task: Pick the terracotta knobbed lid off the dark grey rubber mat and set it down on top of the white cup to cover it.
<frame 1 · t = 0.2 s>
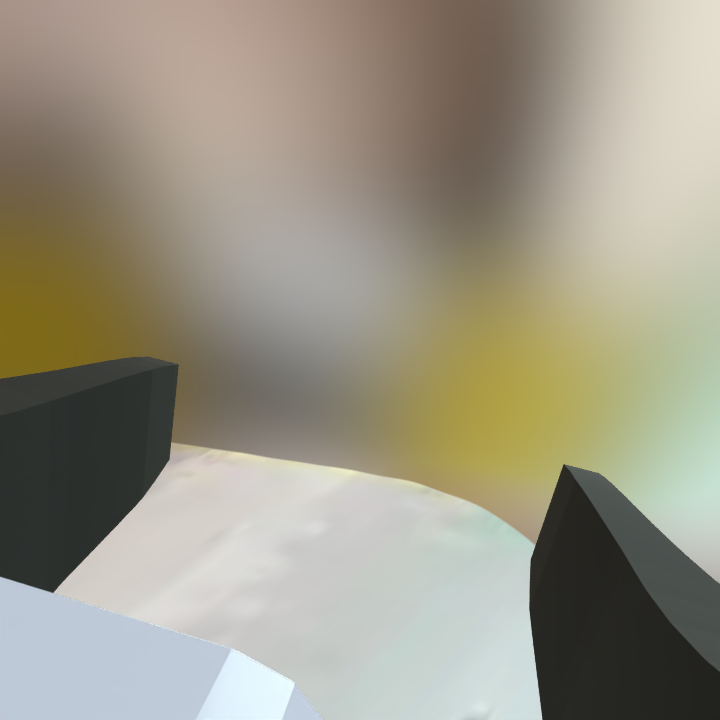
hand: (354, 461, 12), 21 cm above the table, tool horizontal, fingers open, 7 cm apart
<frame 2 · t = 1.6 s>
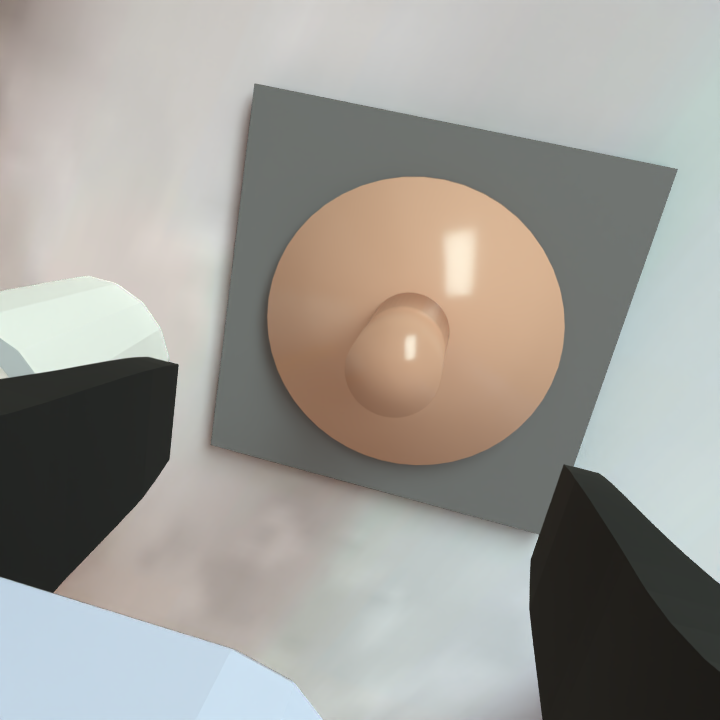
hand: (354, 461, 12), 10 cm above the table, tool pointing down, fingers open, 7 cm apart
mat: (414, 319, 21), on the table
white cup: (100, 350, 24), on the table
lid: (411, 326, 20), point 1 cm above the table, touching mat
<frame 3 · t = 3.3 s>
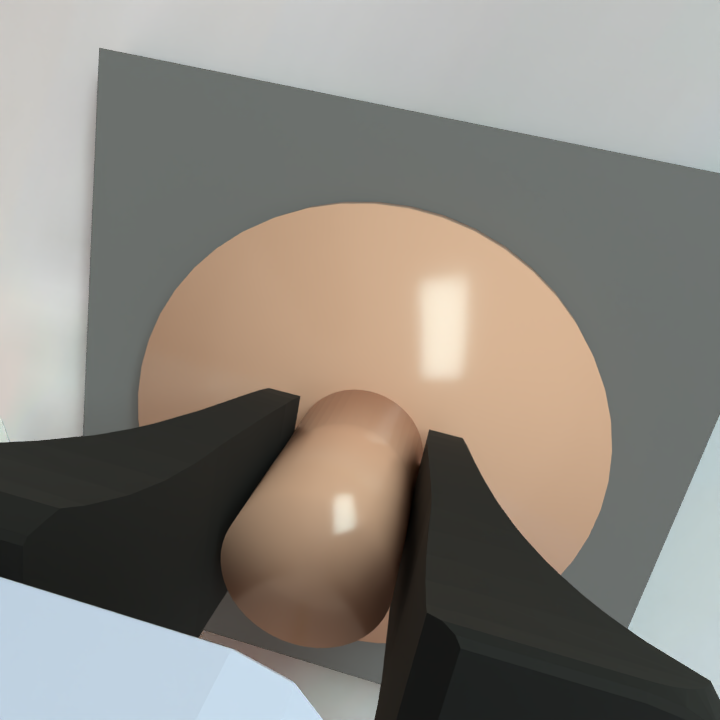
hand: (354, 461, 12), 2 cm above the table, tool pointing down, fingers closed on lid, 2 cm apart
mat: (372, 418, 14), on the table
lid: (365, 435, 13), point 1 cm above the table, touching gripper, mat
when the fingers open (9 cm above the table, at t = 5.6 s): lid stays where it is, resting on white cup.
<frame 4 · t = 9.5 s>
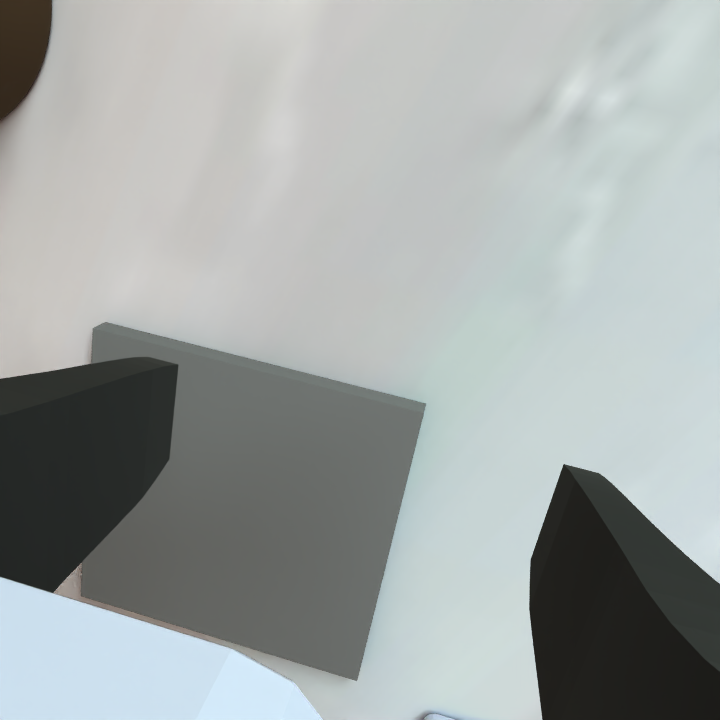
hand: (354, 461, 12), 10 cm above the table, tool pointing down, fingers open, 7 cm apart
mat: (240, 503, 25), on the table
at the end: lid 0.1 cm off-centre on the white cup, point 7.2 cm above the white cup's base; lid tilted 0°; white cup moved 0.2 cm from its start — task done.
